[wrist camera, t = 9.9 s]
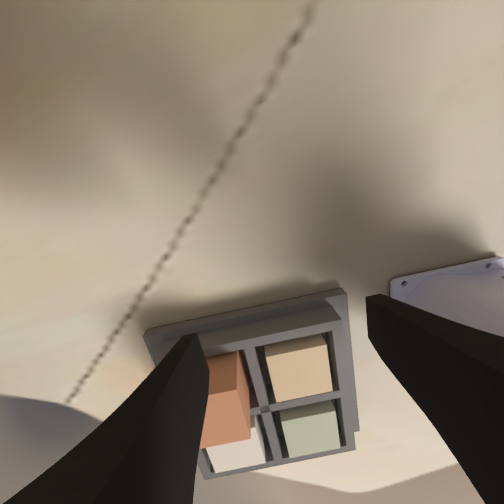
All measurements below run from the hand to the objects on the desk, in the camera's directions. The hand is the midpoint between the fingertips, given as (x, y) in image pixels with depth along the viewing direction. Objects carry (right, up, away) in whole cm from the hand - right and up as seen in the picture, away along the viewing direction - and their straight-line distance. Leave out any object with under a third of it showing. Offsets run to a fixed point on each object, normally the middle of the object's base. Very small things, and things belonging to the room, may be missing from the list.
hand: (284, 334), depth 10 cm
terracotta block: (-4, -6, +11) cm, 13 cm away
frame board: (0, -9, +13) cm, 15 cm away
